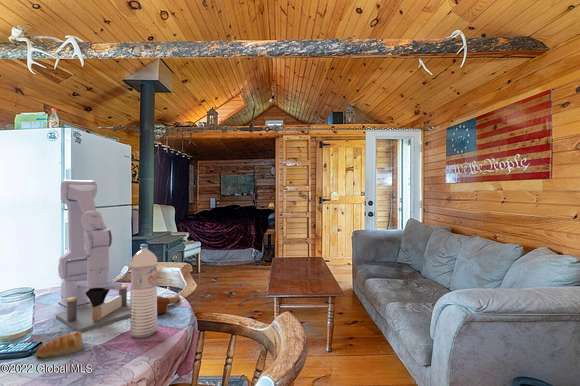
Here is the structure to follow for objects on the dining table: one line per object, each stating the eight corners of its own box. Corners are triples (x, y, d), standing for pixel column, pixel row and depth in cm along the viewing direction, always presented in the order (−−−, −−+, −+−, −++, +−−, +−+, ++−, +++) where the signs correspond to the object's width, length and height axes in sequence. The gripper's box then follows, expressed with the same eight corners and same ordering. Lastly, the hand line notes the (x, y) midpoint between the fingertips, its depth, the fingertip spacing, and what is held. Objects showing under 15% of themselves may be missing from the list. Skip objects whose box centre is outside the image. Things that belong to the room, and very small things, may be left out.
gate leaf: (117, 306, 107) (117, 295, 107) (122, 306, 107) (122, 295, 107) (92, 320, 95) (92, 308, 95) (97, 320, 95) (97, 308, 95)
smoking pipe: (142, 317, 102) (142, 299, 102) (163, 298, 120) (163, 282, 120) (164, 317, 102) (164, 299, 102) (182, 298, 120) (182, 282, 120)
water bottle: (139, 341, 85) (140, 247, 85) (125, 335, 89) (125, 245, 88) (162, 331, 91) (162, 243, 91) (147, 326, 94) (147, 241, 94)
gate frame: (55, 317, 100) (55, 294, 100) (117, 301, 116) (117, 280, 116) (79, 332, 90) (79, 306, 90) (144, 312, 105) (144, 289, 105)
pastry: (37, 363, 74) (37, 347, 74) (35, 353, 79) (35, 337, 79) (85, 350, 80) (85, 335, 80) (80, 341, 85) (80, 327, 85)
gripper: (66, 270, 96) (66, 316, 96) (111, 272, 94) (111, 318, 94) (83, 265, 103) (83, 307, 103) (126, 266, 101) (126, 309, 101)
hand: (97, 312), depth 99 cm, fingers closed
